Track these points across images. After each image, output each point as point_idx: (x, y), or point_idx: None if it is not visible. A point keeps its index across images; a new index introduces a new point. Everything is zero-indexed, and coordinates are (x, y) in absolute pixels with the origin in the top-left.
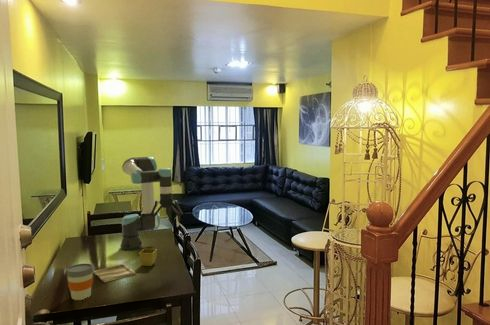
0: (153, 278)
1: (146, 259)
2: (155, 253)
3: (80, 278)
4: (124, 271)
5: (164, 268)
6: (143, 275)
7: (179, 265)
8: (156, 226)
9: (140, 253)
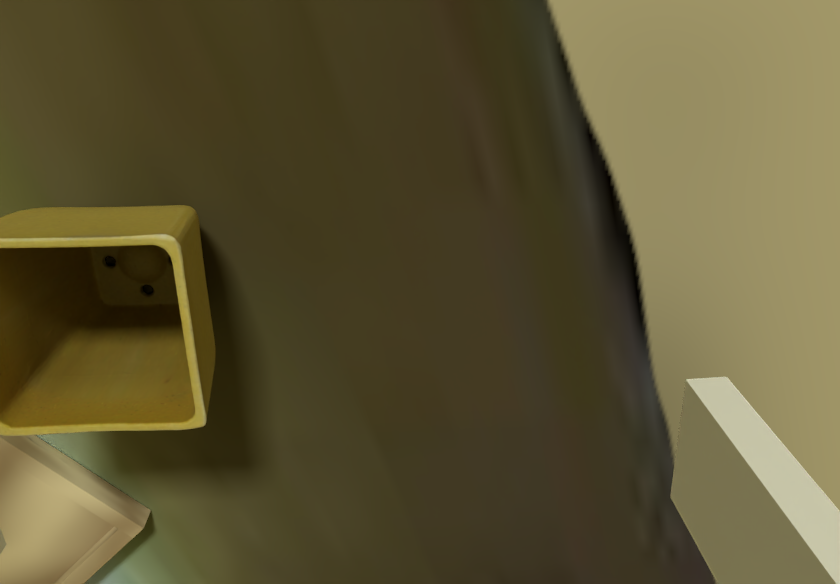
0: (367, 566)
1: (135, 375)
2: (195, 288)
3: None
4: (1, 481)
5: (385, 349)
6: (244, 521)
7: (533, 251)
8: (2, 545)
9: (22, 432)
